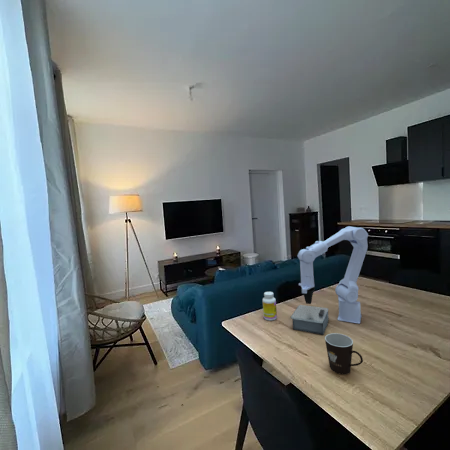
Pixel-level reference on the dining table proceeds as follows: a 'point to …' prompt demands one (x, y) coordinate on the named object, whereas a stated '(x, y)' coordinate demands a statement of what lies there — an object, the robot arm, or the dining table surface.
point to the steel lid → (310, 313)
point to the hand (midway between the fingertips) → (308, 303)
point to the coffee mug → (340, 353)
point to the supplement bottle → (269, 306)
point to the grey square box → (311, 326)
